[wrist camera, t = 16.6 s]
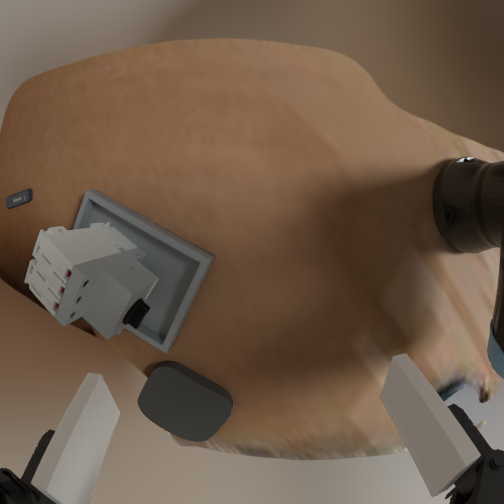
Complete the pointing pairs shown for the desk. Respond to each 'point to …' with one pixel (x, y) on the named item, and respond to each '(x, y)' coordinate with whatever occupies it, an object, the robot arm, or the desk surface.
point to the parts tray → (154, 266)
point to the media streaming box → (184, 402)
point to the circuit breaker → (91, 277)
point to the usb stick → (19, 198)
